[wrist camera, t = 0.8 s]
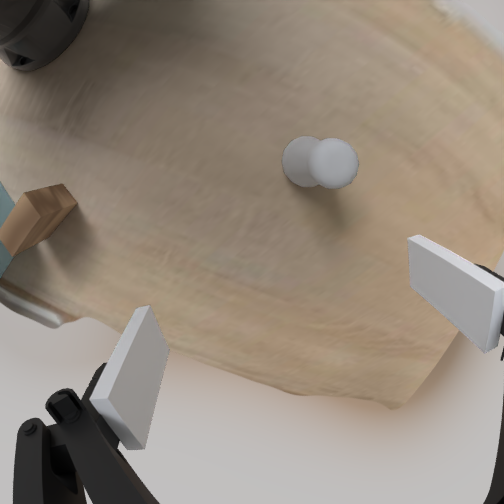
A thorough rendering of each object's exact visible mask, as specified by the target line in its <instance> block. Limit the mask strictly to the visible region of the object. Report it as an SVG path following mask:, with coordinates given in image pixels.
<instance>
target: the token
mask: <svg viewBox="0 0 504 504" xmlns="http://www.w3.org/2000/svg"><path fill="white" fill-rule="evenodd" d="M76 204H77V202H76V200H75V199H74V198H73V196H72V195H71V194H70V193H69V191H68V190H67V189H66V187H65V186H64V185H63V184H59V185H54V186H50V187H45V188H41V189H37V190H33V191H29V192H25V193H23V195H22V196H21V198H20V199H19V200H18V202H17V203H16V205H15V206H14V208H13V209H12V211H11V212H10V214H9V216H8V217H7V219H6V220H5V222H4V223H3V225H2V227H1V228H0V240H1V242H2V243H3V245H4V246H5V247H6V249H7V250H8V252H9V253H10V254H11V256H12V257H13V256H15V255H17V254H19V253H21V252H22V251H24V250H26V249H28V248H30V247H32V246H33V245H35V244H37V243H39V242H41V241H43V240H45V239H47V238H48V237H50V235H51V234H52V233H53V232H54V230H55V229H56V228H57V227H58V226H59V224H60V223H61V222H62V221H63V220H64V218H65V217H66V216H67V215H68V214H69V212H70V211H71V210H72V209H73V208H74V207H75V205H76Z"/></svg>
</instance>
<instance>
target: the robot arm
mask: <svg viewBox="0 0 504 504" xmlns="http://www.w3.org/2000/svg"><path fill="white" fill-rule="evenodd" d="M88 6H89V0H0V58H1V59H2V60H3V62H4V63H5V64H7V65H8V66H10V67H12V68H16V69H19V70H23V71H29V70H34V69H37V68H40V67H42V66H44V65H46V64H48V63H49V62H51V61H52V60H54V59H55V58H56V57H58V56H59V55H60V54H61V53H62V52H63V51H64V50H65V49H66V48H67V47H68V46H69V45H70V44H71V42H72V41H73V40H74V38H75V37H76V36H77V34H78V32H79V31H80V29H81V27H82V25H83V23H84V21H85V18H86V15H87V12H88ZM407 239H408V253H409V272H410V287H411V288H413V289H414V290H415V291H416V292H417V293H418V294H420V295H421V296H422V297H423V298H424V299H425V300H426V301H428V302H429V303H430V304H431V305H432V306H433V307H434V308H436V309H437V310H438V311H439V312H440V313H441V314H442V315H443V316H445V317H446V318H447V319H448V320H449V321H450V322H451V323H452V324H453V325H455V326H456V327H457V328H458V329H459V330H460V331H461V332H462V333H463V334H464V335H465V336H466V337H468V338H469V339H470V340H471V341H472V342H473V343H474V344H475V345H476V346H477V347H478V348H479V349H480V350H481V351H482V352H483V353H487V352H489V351H490V350H492V349H494V348H495V347H497V346H498V341H499V337H500V333H501V334H502V335H503V336H504V278H503V277H502V276H500V275H498V274H497V273H495V272H492V271H491V270H490V269H488V268H486V267H485V266H481V265H478V264H473V263H471V262H469V261H467V260H466V259H464V258H462V257H460V256H459V255H457V254H455V253H453V252H451V251H450V250H448V249H446V248H444V247H442V246H440V245H439V244H437V243H435V242H433V241H431V240H429V239H427V238H425V237H423V236H421V235H420V234H419V235H416V236H412V237H409V238H407ZM169 351H170V349H169V347H168V345H167V343H166V341H165V338H164V336H163V334H162V332H161V329H160V327H159V325H158V322H157V320H156V318H155V315H154V313H153V311H152V308H151V306H150V305H147V306H143V307H139V308H136V310H135V312H134V313H133V315H132V317H131V319H130V321H129V323H128V324H127V326H126V328H125V330H124V332H123V334H122V336H121V338H120V339H119V341H118V343H117V345H116V347H115V349H114V351H113V353H112V355H111V357H110V359H109V361H108V362H107V363H103V364H102V365H101V366H100V367H99V368H98V369H97V370H96V372H95V374H94V376H93V377H92V380H91V381H90V383H89V387H87V389H86V391H85V393H84V395H83V397H82V399H81V400H80V399H79V397H78V396H77V394H76V393H75V392H74V391H73V390H72V389H69V388H66V389H61V390H59V391H57V392H55V393H54V394H53V395H51V397H50V398H49V399H48V401H47V402H46V410H47V411H48V412H49V414H50V415H51V416H52V417H53V419H54V420H55V421H56V423H57V424H53V425H50V426H46V425H45V424H44V423H43V422H42V421H41V420H40V419H39V418H32V419H29V420H27V421H25V422H24V423H23V424H22V425H21V427H20V428H19V431H18V434H17V443H16V453H15V464H14V481H13V504H87V502H86V497H85V492H84V487H85V489H86V491H87V493H88V495H89V497H90V499H91V501H92V503H93V504H159V502H158V501H157V500H156V499H155V497H153V495H152V494H151V493H150V491H149V490H148V489H147V488H146V486H145V485H144V484H143V482H142V481H141V480H140V478H139V477H138V476H137V474H136V473H135V472H134V470H133V469H132V467H131V466H130V465H129V463H128V462H127V460H126V459H125V458H124V456H123V455H122V453H121V452H120V451H119V450H118V449H117V448H118V444H119V441H121V442H122V444H123V445H124V446H125V448H126V449H127V450H140V449H145V446H146V442H147V438H148V433H149V429H150V425H151V421H152V416H153V413H154V408H155V404H156V400H157V396H158V393H159V388H160V385H161V381H162V377H163V373H164V369H165V366H166V362H167V358H168V355H169ZM503 358H504V348H503V352H502V356H501V361H502V360H503ZM83 485H84V486H83ZM483 504H504V396H503V412H502V421H501V430H500V439H499V445H498V452H497V458H496V463H495V468H494V473H493V478H492V483H491V487H490V490H489V493H488V495H487V498H486V500H485V502H484V503H483Z"/></svg>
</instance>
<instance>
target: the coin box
mask: <svg viewBox="0 0 504 504" xmlns="http://www.w3.org/2000/svg"><path fill="white" fill-rule="evenodd" d="M14 206H15V204H14V202H13V201H12V199H11V198H10V196H9V195H8V193H7V192H6V190H5V189H4V187H3V186H2V184H1V182H0V228H1V227H2V225H3V223H4V222H5V220H6V219H7V217H8V216H9V214H10V212H11V211H12V209H13V208H14ZM13 257H14V256H13ZM13 257H12V256H11V254H10V253H9V252H8V250H7V249H6V247H5V246H4V245H3V243H2V242H1V240H0V278H1V276H2V275H3V273H4V271H5V270H6V268H7V267H8V265H9V264H10V262H11V260H12V259H13Z"/></svg>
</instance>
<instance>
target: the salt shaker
mask: <svg viewBox="0 0 504 504" xmlns="http://www.w3.org/2000/svg"><path fill="white" fill-rule="evenodd" d="M282 165H283V169H284V173H285V174H286V176H287V177H288V178H289V179H290V180H291V181H292V182H293V183H295V184H297V185H299V186H301V187H314V186H316V185H321V186H323V187H325V188H327V189H340V188H342V187H344V186H347V185H349V184H350V183H351V182H352V181H353V179H354V178H355V177H356V175H357V172H358V167H359V161H358V157H357V153H356V152H355V150H354V149H353V148H352V146H351V145H350V144H348V143H346V142H345V141H343V140H341V139H338V138H326V139H324V140H319V139H317V138H315V137H313V136H301V137H299V138H297V139H294V140H292V141H291V142H290V143H289V144H288V146H287V147H286V148H285V149H284V152H283V157H282Z"/></svg>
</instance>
